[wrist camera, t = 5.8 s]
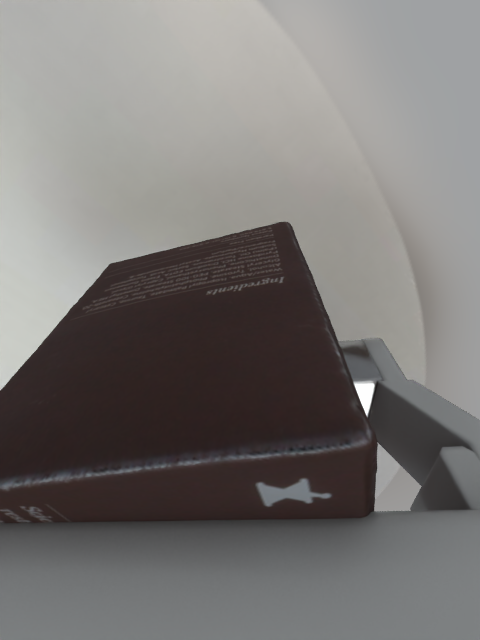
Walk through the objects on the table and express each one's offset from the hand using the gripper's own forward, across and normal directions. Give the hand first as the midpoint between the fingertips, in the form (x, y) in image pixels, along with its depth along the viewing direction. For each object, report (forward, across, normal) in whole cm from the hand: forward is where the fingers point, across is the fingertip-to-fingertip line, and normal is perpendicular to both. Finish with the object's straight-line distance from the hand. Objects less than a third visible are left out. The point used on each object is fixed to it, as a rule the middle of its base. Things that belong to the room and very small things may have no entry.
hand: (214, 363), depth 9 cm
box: (+3, 0, 0) cm, 3 cm away
